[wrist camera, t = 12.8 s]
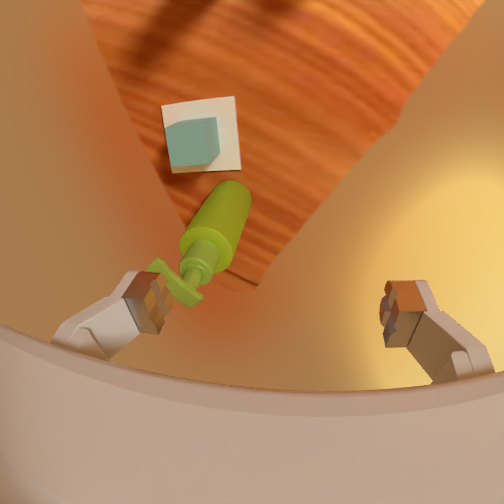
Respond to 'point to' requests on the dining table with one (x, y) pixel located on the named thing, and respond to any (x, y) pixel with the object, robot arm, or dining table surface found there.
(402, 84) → the dining table surface
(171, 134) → the block
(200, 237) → the soap dispenser
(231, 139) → the coaster
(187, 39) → the dining table surface
